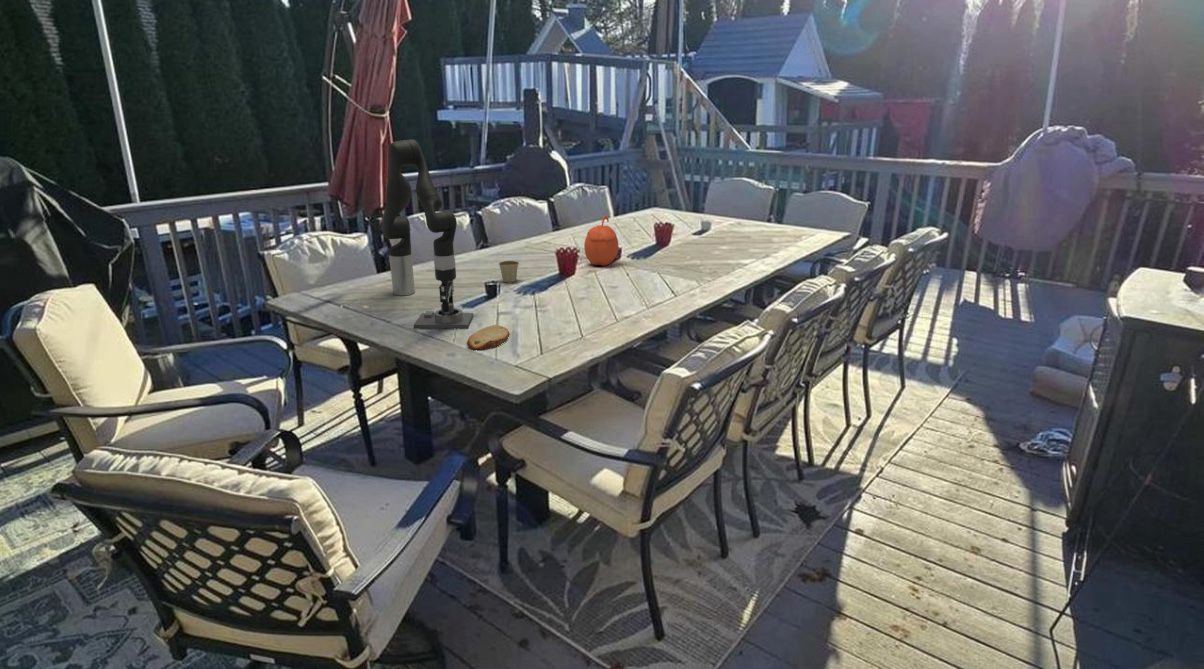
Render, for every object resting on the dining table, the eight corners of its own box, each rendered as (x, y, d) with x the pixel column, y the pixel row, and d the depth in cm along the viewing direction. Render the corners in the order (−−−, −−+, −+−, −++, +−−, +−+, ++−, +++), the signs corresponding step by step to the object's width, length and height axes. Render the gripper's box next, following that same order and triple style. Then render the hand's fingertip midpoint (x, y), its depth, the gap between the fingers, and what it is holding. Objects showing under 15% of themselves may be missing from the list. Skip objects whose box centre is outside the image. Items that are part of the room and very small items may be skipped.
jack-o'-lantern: (606, 258, 346) (607, 211, 337) (625, 265, 333) (626, 217, 324) (577, 263, 336) (577, 215, 327) (596, 270, 323) (596, 220, 314)
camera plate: (422, 316, 255) (421, 310, 254) (473, 316, 256) (473, 310, 255) (413, 328, 242) (413, 321, 241) (467, 328, 243) (467, 321, 242)
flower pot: (495, 280, 304) (494, 262, 301) (512, 277, 310) (511, 259, 307) (506, 285, 298) (505, 266, 295) (523, 281, 303) (523, 263, 300)
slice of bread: (503, 329, 244) (502, 319, 243) (521, 344, 229) (521, 334, 228) (456, 336, 236) (455, 326, 235) (472, 353, 221) (471, 343, 220)
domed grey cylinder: (442, 317, 250) (442, 301, 248) (455, 317, 250) (454, 301, 248) (440, 322, 244) (440, 306, 242) (453, 322, 245) (452, 306, 242)
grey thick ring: (438, 315, 252) (437, 307, 251) (464, 315, 252) (463, 307, 251) (433, 324, 243) (432, 315, 241) (460, 324, 243) (459, 315, 242)
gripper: (438, 261, 247) (441, 302, 252) (430, 271, 233) (434, 314, 239) (458, 261, 247) (461, 302, 253) (451, 271, 234) (454, 314, 239)
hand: (448, 308), depth 246 cm, fingers open, 8 cm apart
